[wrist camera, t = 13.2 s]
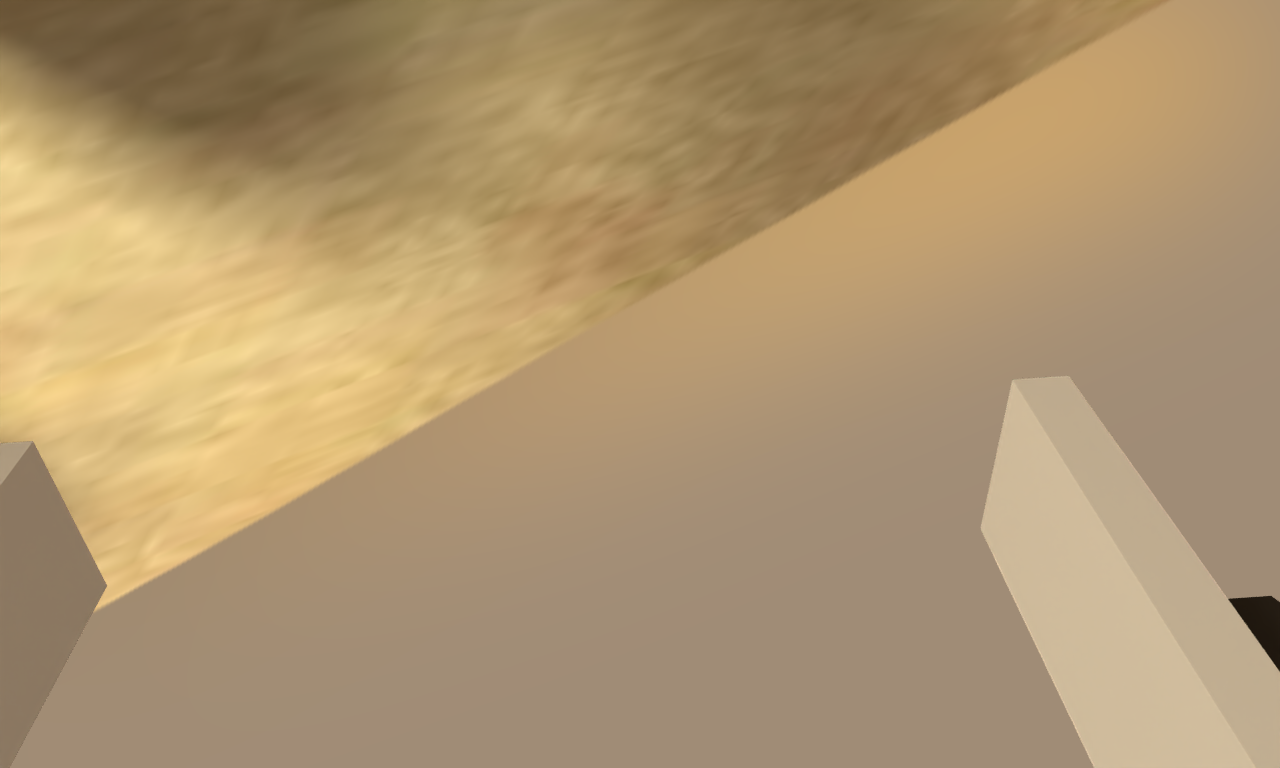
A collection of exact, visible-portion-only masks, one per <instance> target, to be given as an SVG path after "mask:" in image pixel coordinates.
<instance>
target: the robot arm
mask: <svg viewBox="0 0 1280 768" xmlns="http://www.w3.org/2000/svg"><path fill="white" fill-rule="evenodd" d="M980 529H981V531H982V533H983V535H984V538H985V540H986V541H987V544H988V546H989V548H990V550H991V552H992V554H993V556H994V559H995V561H996V563H997V565H998V567H999V569H1000V571H1001V573H1002V575H1003V577H1004V579H1005V581H1006V584H1007V585H1008V588H1009V590H1010V592H1011V594H1012V596H1013V598H1014V600H1015V603H1016V605H1017V607H1018V609H1019V611H1020V613H1021V615H1022V617H1023V619H1024V622H1025V624H1026V626H1027V628H1028V630H1029V632H1030V634H1031V636H1032V638H1033V640H1034V642H1035V645H1036V646H1037V649H1038V651H1039V653H1040V655H1041V657H1042V659H1043V661H1044V664H1045V665H1046V668H1047V670H1048V672H1049V674H1050V676H1051V678H1052V680H1053V682H1054V685H1055V687H1056V689H1057V690H1058V693H1059V695H1060V697H1061V699H1062V701H1063V703H1064V705H1065V707H1066V710H1067V712H1068V714H1069V716H1070V718H1071V720H1072V722H1073V724H1074V727H1075V729H1076V731H1077V733H1078V735H1079V737H1080V739H1081V741H1082V743H1083V745H1084V747H1085V750H1086V752H1087V754H1088V756H1089V758H1090V760H1091V762H1092V764H1093V766H1094V768H1280V602H1279V601H1277V600H1276V599H1275V598H1273V597H1272V596H1263V597H1249V598H1233V599H1227V597H1226V596H1225V594H1224V593H1223V592H1222V590H1221V589H1220V587H1219V586H1218V585H1217V583H1216V582H1215V580H1214V579H1213V577H1212V576H1211V575H1210V573H1209V572H1208V570H1207V569H1206V568H1205V566H1204V565H1203V564H1202V562H1201V561H1200V559H1199V558H1198V556H1197V555H1196V554H1195V552H1194V551H1193V550H1192V548H1191V547H1190V545H1189V544H1188V542H1187V541H1186V540H1185V538H1184V537H1183V535H1182V534H1181V533H1180V531H1179V530H1178V528H1177V527H1176V526H1175V524H1174V523H1173V521H1172V520H1171V519H1170V517H1169V516H1168V514H1167V513H1166V512H1165V510H1164V509H1163V507H1162V506H1161V505H1160V503H1159V502H1158V500H1157V499H1156V498H1155V496H1154V495H1153V494H1152V492H1151V491H1150V489H1149V488H1148V486H1147V485H1146V484H1145V482H1144V481H1143V479H1142V478H1141V477H1140V475H1139V474H1138V472H1137V471H1136V469H1135V468H1134V467H1133V465H1132V464H1131V463H1130V461H1129V460H1128V458H1127V457H1126V455H1125V454H1124V453H1123V451H1122V450H1121V449H1120V447H1119V446H1118V444H1117V443H1116V442H1115V440H1114V439H1113V437H1112V436H1111V434H1110V433H1109V432H1108V430H1107V429H1106V428H1105V426H1104V425H1103V423H1102V422H1101V421H1100V419H1099V418H1098V416H1097V415H1096V413H1095V412H1094V411H1093V409H1092V408H1091V406H1090V405H1089V404H1088V402H1087V401H1086V399H1085V398H1084V397H1083V395H1082V394H1081V393H1080V391H1079V390H1078V388H1077V387H1076V385H1075V384H1074V383H1073V381H1072V380H1071V378H1070V377H1069V376H1059V377H1043V378H1027V379H1013V380H1012V384H1011V389H1010V393H1009V398H1008V402H1007V407H1006V412H1005V416H1004V421H1003V426H1002V431H1001V435H1000V440H999V444H998V450H997V454H996V458H995V463H994V468H993V472H992V477H991V482H990V486H989V491H988V496H987V500H986V506H985V510H984V514H983V519H982V523H981V528H980ZM106 587H107V585H106V583H105V581H104V579H103V577H102V575H101V573H100V571H99V569H98V567H97V565H96V563H95V561H94V559H93V557H92V555H91V553H90V551H89V550H88V548H87V546H86V544H85V542H84V540H83V538H82V536H81V534H80V532H79V530H78V528H77V526H76V524H75V522H74V520H73V518H72V516H71V514H70V512H69V510H68V509H67V507H66V505H65V503H64V501H63V499H62V497H61V495H60V493H59V491H58V489H57V487H56V485H55V483H54V481H53V479H52V477H51V475H50V473H49V471H48V470H47V468H46V466H45V464H44V462H43V460H42V458H41V456H40V454H39V452H38V450H37V448H36V446H35V444H34V442H33V441H29V442H13V443H0V768H10V766H11V764H12V762H13V761H14V759H15V757H16V755H17V753H18V751H19V749H20V747H21V746H22V744H23V742H24V740H25V738H26V736H27V734H28V732H29V731H30V729H31V727H32V725H33V723H34V721H35V719H36V718H37V716H38V714H39V712H40V710H41V708H42V706H43V705H44V702H45V701H46V699H47V697H48V695H49V693H50V691H51V690H52V688H53V686H54V684H55V682H56V680H57V678H58V676H59V674H60V673H61V671H62V669H63V667H64V665H65V663H66V662H67V660H68V658H69V656H70V654H71V652H72V650H73V648H74V647H75V645H76V643H77V641H78V639H79V637H80V635H81V633H82V632H83V630H84V628H85V626H86V624H87V622H88V620H89V618H90V617H91V615H92V613H93V611H94V609H95V607H96V605H97V604H98V602H99V600H100V598H101V596H102V594H103V592H104V590H105V589H106Z"/></svg>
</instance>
